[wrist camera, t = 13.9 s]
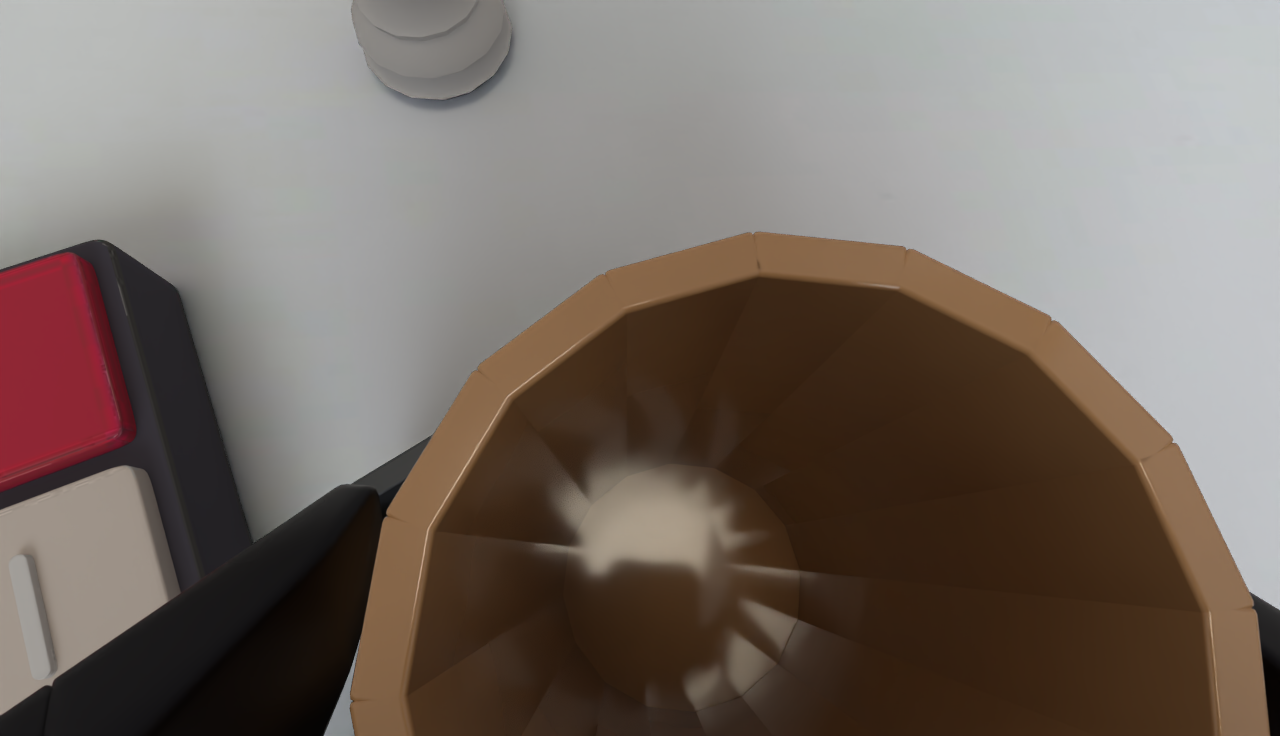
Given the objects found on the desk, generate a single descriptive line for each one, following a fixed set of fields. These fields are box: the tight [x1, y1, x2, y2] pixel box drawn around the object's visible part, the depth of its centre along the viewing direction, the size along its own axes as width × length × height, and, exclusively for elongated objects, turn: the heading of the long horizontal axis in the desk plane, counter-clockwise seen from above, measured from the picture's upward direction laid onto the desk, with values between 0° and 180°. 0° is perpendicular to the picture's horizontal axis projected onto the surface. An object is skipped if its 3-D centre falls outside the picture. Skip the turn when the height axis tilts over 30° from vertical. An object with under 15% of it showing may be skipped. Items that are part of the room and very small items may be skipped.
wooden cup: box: [350, 232, 1270, 736], centre depth 11 cm, size 6×6×13 cm
